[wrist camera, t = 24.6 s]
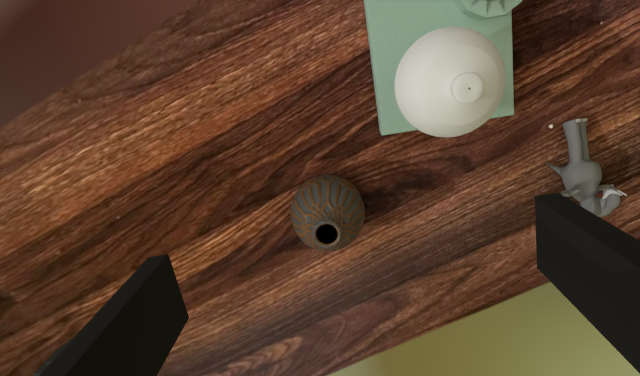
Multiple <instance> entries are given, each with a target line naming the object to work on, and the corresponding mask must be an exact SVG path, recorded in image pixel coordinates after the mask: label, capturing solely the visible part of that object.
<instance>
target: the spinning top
mask: <svg viewBox="0 0 640 376" xmlns="http://www.w3.org/2000/svg"><path fill="white" fill-rule="evenodd" d="M505 85H506V71H505V65H504V61H503V59H502V56H501V54H500V52H499V51H498V49H497V48H496V46H495V45H494V44H493V43H492V42H491V41H490V40H489V39H488V38H487V37H486V36H484V35H483V34H481V33H479V32H477V31H474V30H472V29H469V28H464V27H444V28H440V29H437V30H434V31H431V32H429V33H427V34H425V35H424V36H422V37H421V38H419V39H418V40H417V41H416V42H415V43H414V44H413V45H412V46H411V47H410V48H409V49H408V50H407V51H406V53H405V54H404V56H403V57H402V59H401V61H400V63H399V66H398V68H397V72H396V76H395V96H396V100H397V104H398V106H399V109H400V111H401V113H402V114H403V116H404V117H405V118H406V120H407V121H408V122H409V123H410V124H411V125H412V126H414V127H415V128H416V129H418V130H420V131H421V132H423V133H426V134H429V135H432V136H437V137H455V136H460V135H463V134H466V133H469V132H471V131H473V130H475V129H477V128H478V127H480V126H481V125H482V124H484V123H485V122H486V121H487V120H488V119H489V118H490V117H491V116H492V115H493V113H494V112H495V111H496V109H497V107H498V106H499V104H500V102H501V99H502V97H503V94H504V90H505Z"/></svg>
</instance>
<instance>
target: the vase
mask: <svg viewBox="0 0 640 376" xmlns="http://www.w3.org/2000/svg"><path fill="white" fill-rule="evenodd" d="M364 219H365V207H364V203H363V199H362V197H361V195H360V193H359V191H358V190H357V188H356V187H355V186H354V185H353V184H352V183H351V182H350V181H348V180H347V179H345V178H343V177H341V176H338V175H333V174H323V175H318V176H315V177H313V178H311V179H309V180H308V181H306V182H305V183H304V184H303V185H302V186H301V187H300V188H299V189H298V191H297V192H296V194H295V196H294V199H293V202H292V206H291V220H292V224H293V227H294V230H295V232H296V233H297V235H298V236H299V238H300V239H301V240H302V241H303V242H304V243H305V244H307V245H308V246H310V247H311V248H313V249H316V250H319V251H327V252H329V251H336V250H340V249H342V248H344V247H346V246H348V245H349V244H350V243H352V242H353V241H354V240H355V238H356V237H357V236H358V234H359V233H360V231H361V229H362V226H363V223H364Z"/></svg>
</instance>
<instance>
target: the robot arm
mask: <svg viewBox="0 0 640 376" xmlns="http://www.w3.org/2000/svg"><path fill="white" fill-rule="evenodd" d="M535 213H536V245H537V268H538V269H539V270H540V271H541V272H542V273H543V274H544V275H545V276H546V277H547V278H548V279H549V280H550V281H551V282H552V283H553V284H554V285H555V287H557V289H558V290H559V291H560V292H561V293H562V294H563V295H564V296H565V297H566V298H567V299H568V300H569V301H570V302H571V303H572V304H573V305H574V306H575V307H576V308H577V309H578V310H579V311H580V312H581V313H582V314H583V315H584V316H585V317H586V318H587V319H588V321H589V322H591V323H592V324H593V326H594V327H595V328H596V329H597V330H598V331H599V332H600V333H601V334H602V335H603V336H604V337H605V338H606V339H607V340H608V341H609V342H610V343H611V344H612V345H613V346H614V347H615V348H616V349H617V350H618V351H619V352H620V353H621V354H622V355H623V356H624V358H625V359H626V360H627V361H628V362H629V363H630V364H631V365H632V366H633V367H634V368H635V369H636V370H637V371H638V372H639V373H640V241H638V240H636V239H635V238H633V237H631V236H630V235H628V234H626V233H625V232H623V231H621V230H620V229H618V228H616V227H615V226H613V225H611V224H610V223H608V222H606V221H605V220H603V219H601V218H600V217H598V216H596V215H595V214H593V213H591V212H590V211H588V210H586V209H585V208H583V207H581V206H580V205H578V204H576V203H575V202H573V201H571V200H570V199H568V198H566V197H565V196H563V195H561V194H560V193H553V194H546V195H540V196H535ZM188 319H189V316H188V313H187V310H186V307H185V304H184V301H183V298H182V295H181V292H180V289H179V286H178V283H177V280H176V276H175V273H174V270H173V267H172V264H171V261H170V258H169V255H168V254H167V255H160V256H154V257H148V259H147V260H146V261H145V262H144V263H143V264H142V265H141V266H140V267H139V268H138V269H137V270H136V271H135V273H134V274H133V275H132V276H131V277H130V278H129V279H128V280H127V281H126V282H125V283H124V284H123V285H122V287H121V288H120V289H119V290H118V291H117V292H116V293H115V294H114V295H113V296H112V297H111V298H110V299H109V301H108V302H107V303H106V304H105V305H104V306H103V307H102V308H101V309H100V310H99V311H98V312H97V313H96V315H95V316H94V317H93V318H92V319H91V320H90V321H89V322H88V323H87V324H86V325H85V326H84V327H83V329H82V330H81V331H80V332H79V333H78V334H77V335H76V336H75V337H73V338H72V339H70V340H69V341H68V342H66V343H65V344H64V345H62V346H61V347H59V348H58V349H57V350H56V351H55V352H54V353H53V354H52V355H51V356H50V357H49V358H48V359H47V360H46V361H45V362H44V365H42V366H40V368H39V369H38V370H37V371H36V372H35V373H34V374H33V376H157V374H158V372H159V371H160V369H161V367H162V365H163V363H164V362H165V360H166V358H167V356H168V354H169V353H170V351H171V349H172V347H173V345H174V344H175V342H176V340H177V338H178V336H179V335H180V333H181V331H182V329H183V328H184V326H185V324H186V322H187V320H188Z"/></svg>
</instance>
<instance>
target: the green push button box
mask: <svg viewBox="0 0 640 376" xmlns="http://www.w3.org/2000/svg"><path fill="white" fill-rule="evenodd" d="M521 2H522V0H364V7H365V15H366V24H367V32H368V40H369V48H370V56H371V64H372V72H373V80H374V89H375V97H376V105H377V113H378V121H379V129H380V133H381V135H382V136H383V135H389V134H395V133H402V132H408V131H414V130H418V129H416V128H415V127H414V126H412V125H411V124H410V123H409V122H408V121H407V120H406V118H405V117H404V116H403V114H402V113H401V111H400V109H399V106H398V104H397V100H396V96H395V76H396V72H397V68H398V66H399V63H400V61H401V59H402V57H403V56H404V54H405V53H406V51H407V50H408V49H409V48H410V47H411V46H412V45H413V44H414V43H415V42H416V41H417V40H418V39H419V38H421V37H422V36H424V35H425V34H427V33H429V32H431V31H434V30H437V29H440V28H444V27H464V28H469V29H472V30H474V31H477V32H479V33H481V34H483V35H484V36H486V37H487V38H488V39H489V40H490V41H491V42H492V43H493V44H494V45H495V46H496V48H497V49H498V51H499V52H500V54H501V56H502V59H503V61H504V65H505V71H506V85H505V90H504V94H503V97H502V99H501V102H500V104H499V106H498V107H497V109H496V111H495V112H494V113H493V115H492V116H491V117H490V118H489V119H491V118H497V117H504V116H510V115H514V92H513V51H512V9H513V8H514V7H516V6H517V5H518V4H519V3H521Z"/></svg>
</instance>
